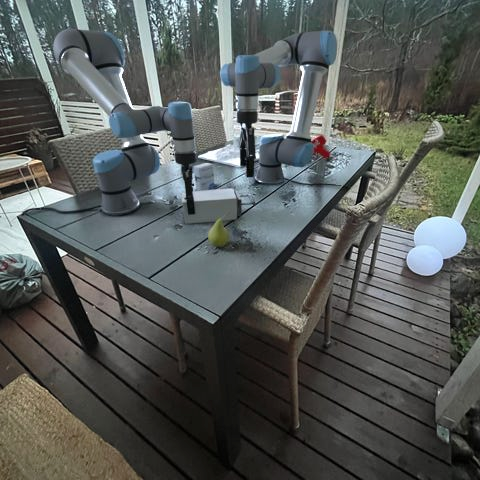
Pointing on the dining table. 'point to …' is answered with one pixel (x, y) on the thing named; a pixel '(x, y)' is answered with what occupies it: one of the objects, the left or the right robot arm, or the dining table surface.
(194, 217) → the cabinet
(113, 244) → the dining table surface
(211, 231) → the fruit
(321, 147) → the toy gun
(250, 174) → the right robot arm
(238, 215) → the drawer
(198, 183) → the ink box
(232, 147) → the relief map
